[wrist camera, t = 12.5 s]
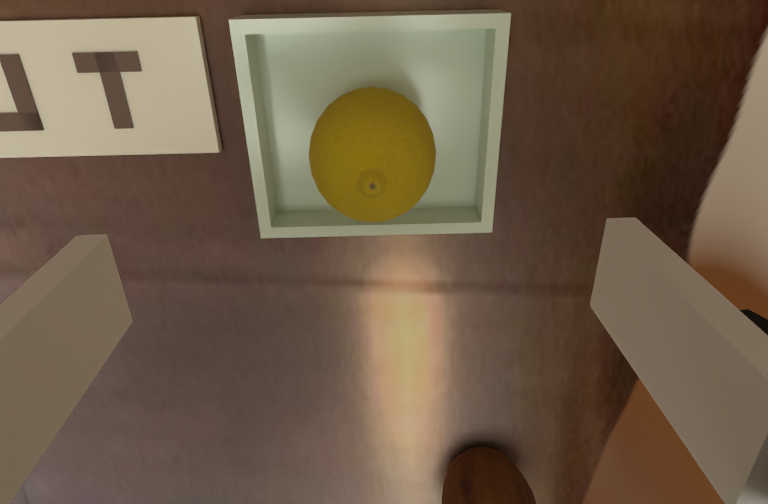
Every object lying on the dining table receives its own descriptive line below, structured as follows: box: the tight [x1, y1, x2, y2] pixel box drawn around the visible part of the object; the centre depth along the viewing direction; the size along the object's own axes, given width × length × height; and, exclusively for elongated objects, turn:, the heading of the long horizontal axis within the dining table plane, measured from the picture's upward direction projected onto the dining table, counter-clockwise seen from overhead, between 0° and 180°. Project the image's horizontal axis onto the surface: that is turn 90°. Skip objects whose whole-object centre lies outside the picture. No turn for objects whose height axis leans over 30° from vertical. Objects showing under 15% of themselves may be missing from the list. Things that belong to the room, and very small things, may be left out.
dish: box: [229, 9, 511, 238], centre depth 26 cm, size 12×10×3 cm
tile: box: [0, 16, 222, 158], centre depth 26 cm, size 14×6×1 cm, turn 91°
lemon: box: [309, 87, 436, 222], centre depth 23 cm, size 6×6×8 cm
